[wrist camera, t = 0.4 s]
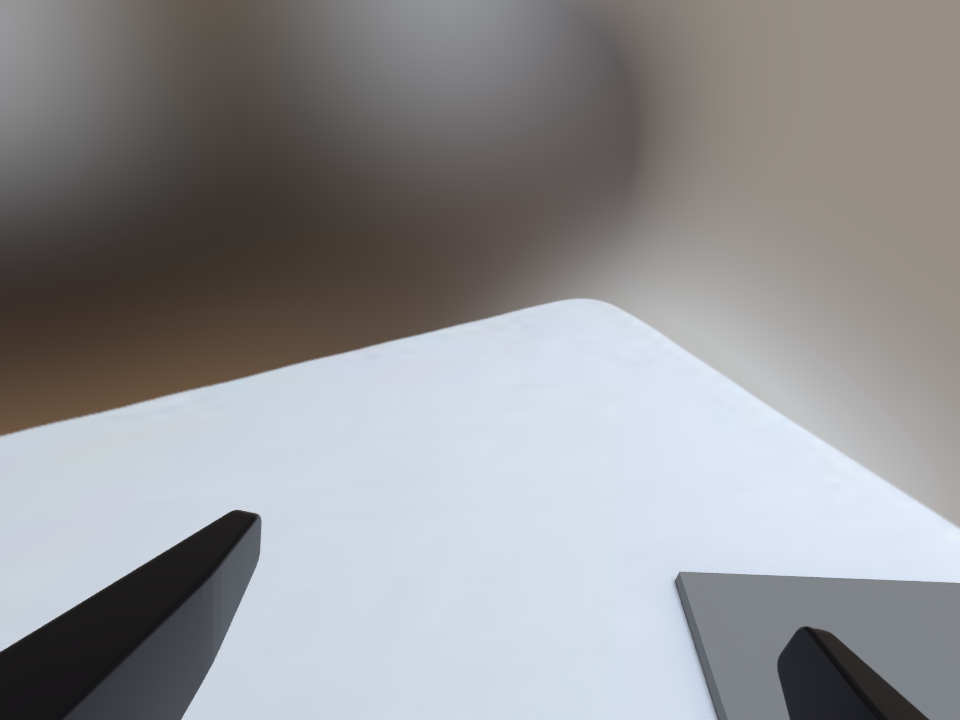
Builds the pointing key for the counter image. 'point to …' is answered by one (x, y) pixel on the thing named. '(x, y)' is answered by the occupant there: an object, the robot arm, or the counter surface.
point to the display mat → (830, 606)
